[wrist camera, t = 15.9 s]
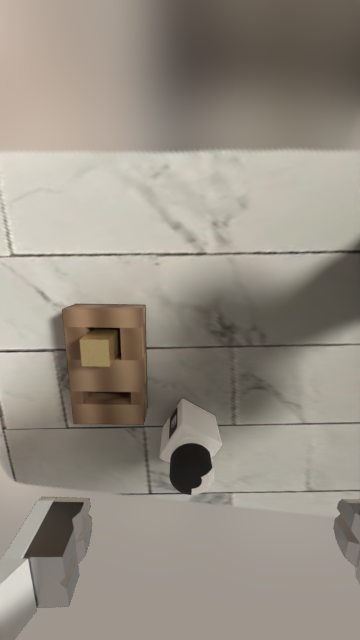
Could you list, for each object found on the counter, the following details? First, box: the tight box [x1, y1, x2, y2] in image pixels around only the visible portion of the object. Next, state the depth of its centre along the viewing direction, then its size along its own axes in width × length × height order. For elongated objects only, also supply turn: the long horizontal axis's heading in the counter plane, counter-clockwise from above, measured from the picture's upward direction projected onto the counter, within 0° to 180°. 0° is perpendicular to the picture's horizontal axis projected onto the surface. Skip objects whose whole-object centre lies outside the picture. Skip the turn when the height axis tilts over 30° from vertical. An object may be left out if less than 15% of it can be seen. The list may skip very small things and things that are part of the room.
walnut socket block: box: [62, 304, 148, 425], centre depth 40 cm, size 12×20×5 cm, turn 179°
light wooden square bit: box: [80, 327, 121, 367], centre depth 37 cm, size 4×4×8 cm
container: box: [160, 399, 222, 495], centre depth 40 cm, size 8×8×13 cm
